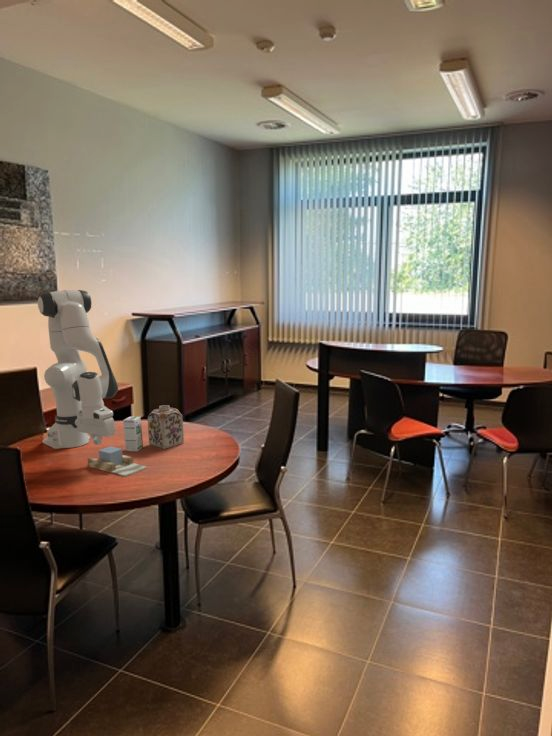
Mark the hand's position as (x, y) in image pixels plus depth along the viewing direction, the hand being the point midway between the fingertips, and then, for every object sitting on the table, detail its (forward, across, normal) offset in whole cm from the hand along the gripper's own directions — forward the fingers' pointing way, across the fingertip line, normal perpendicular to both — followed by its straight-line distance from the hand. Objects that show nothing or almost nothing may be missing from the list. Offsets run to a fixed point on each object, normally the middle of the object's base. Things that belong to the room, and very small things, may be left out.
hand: (97, 444), depth 221 cm
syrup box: (+8, 0, +19) cm, 21 cm away
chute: (+8, +10, 0) cm, 13 cm away
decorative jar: (+9, +6, +32) cm, 34 cm away
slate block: (+8, +7, 0) cm, 11 cm away
